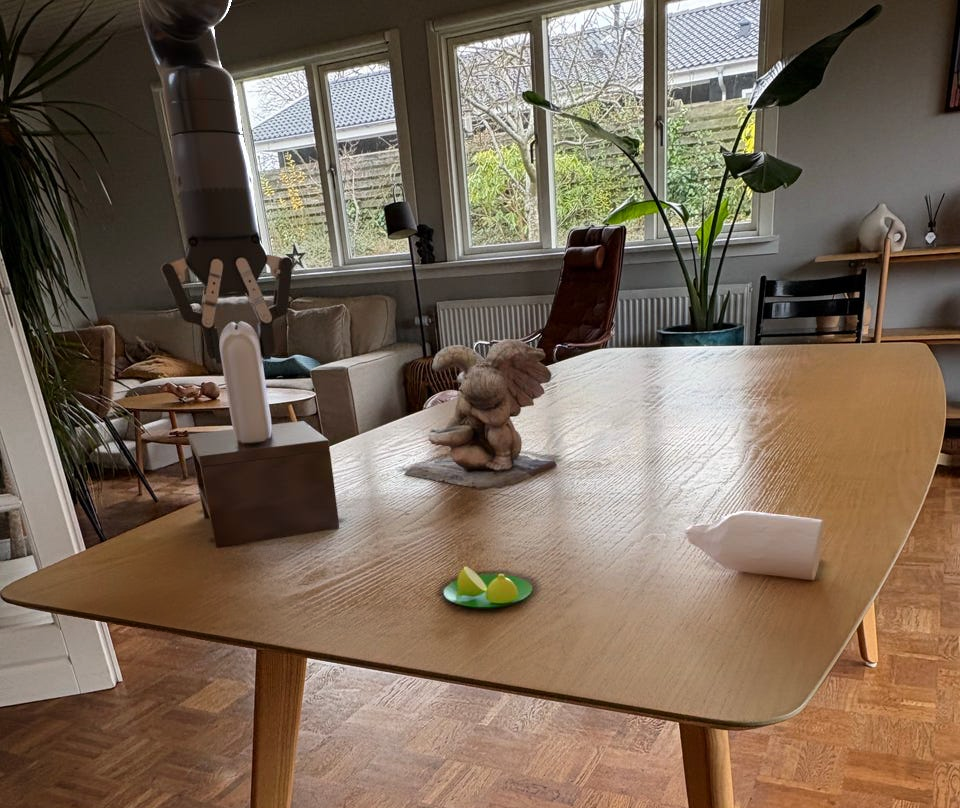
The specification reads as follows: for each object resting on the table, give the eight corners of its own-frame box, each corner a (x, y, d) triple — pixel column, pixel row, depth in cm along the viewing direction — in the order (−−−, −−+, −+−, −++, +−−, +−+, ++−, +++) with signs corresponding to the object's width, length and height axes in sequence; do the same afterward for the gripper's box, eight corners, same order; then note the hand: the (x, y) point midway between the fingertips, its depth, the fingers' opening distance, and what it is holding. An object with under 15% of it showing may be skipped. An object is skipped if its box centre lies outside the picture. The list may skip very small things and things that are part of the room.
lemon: (442, 615, 72) (440, 585, 71) (445, 582, 79) (443, 554, 78) (534, 611, 72) (534, 580, 71) (529, 578, 79) (528, 550, 78)
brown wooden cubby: (216, 547, 93) (198, 456, 88) (203, 516, 104) (187, 434, 100) (339, 527, 97) (328, 439, 93) (314, 500, 109) (303, 420, 105)
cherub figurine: (394, 476, 118) (381, 343, 111) (471, 451, 131) (465, 330, 124) (494, 491, 108) (489, 346, 101) (568, 462, 121) (567, 332, 114)
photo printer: (236, 429, 101) (218, 320, 95) (273, 426, 101) (257, 317, 96) (233, 446, 91) (213, 326, 86) (273, 442, 92) (255, 323, 87)
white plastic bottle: (691, 553, 83) (695, 498, 81) (819, 567, 78) (827, 509, 76) (675, 573, 79) (678, 515, 76) (810, 589, 74) (818, 528, 71)
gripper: (278, 189, 91) (299, 352, 98) (140, 192, 87) (173, 363, 94) (291, 182, 85) (313, 358, 92) (143, 185, 80) (178, 370, 87)
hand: (242, 360), depth 93 cm, fingers closed on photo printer, 4 cm apart
